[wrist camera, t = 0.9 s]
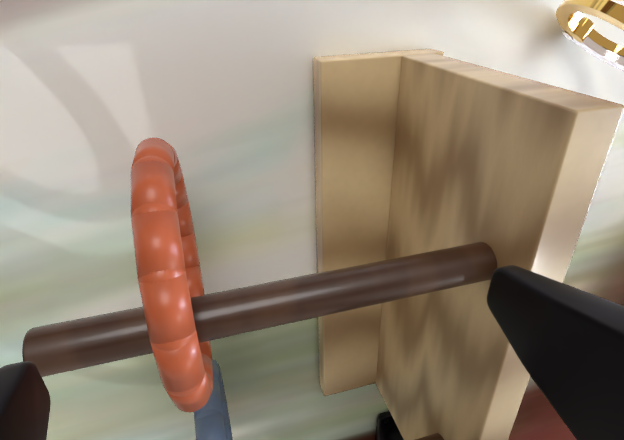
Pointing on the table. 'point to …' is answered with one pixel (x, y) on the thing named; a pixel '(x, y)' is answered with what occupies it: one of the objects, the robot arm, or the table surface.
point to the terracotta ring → (169, 273)
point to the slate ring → (214, 412)
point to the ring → (604, 6)
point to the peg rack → (409, 238)
